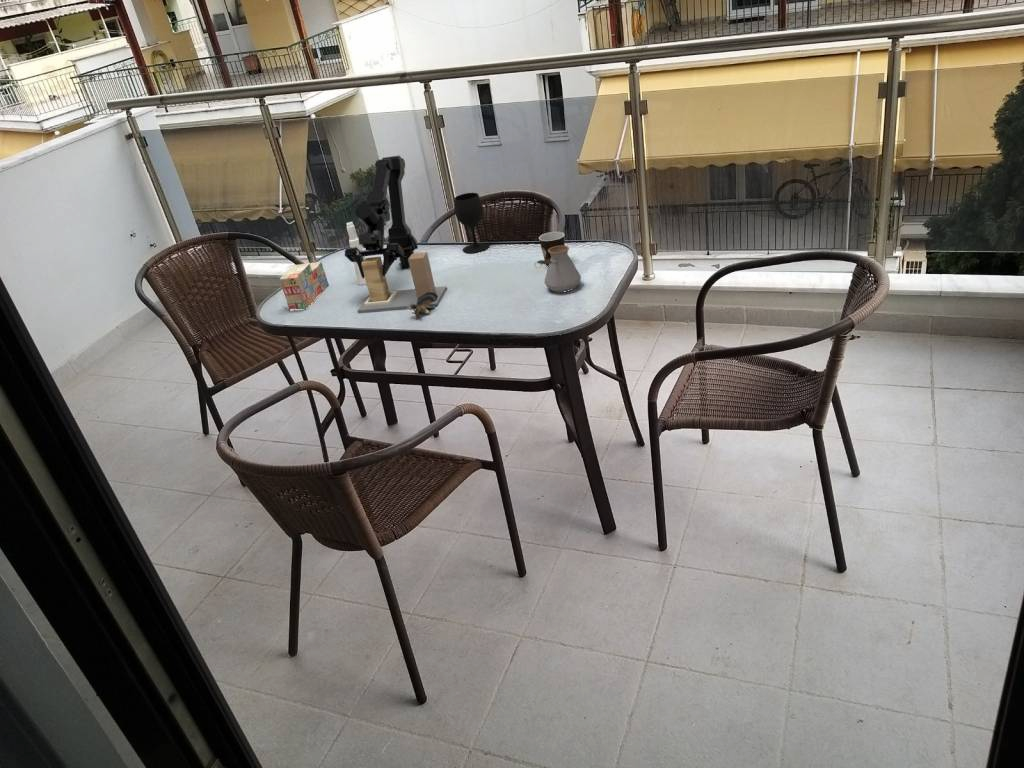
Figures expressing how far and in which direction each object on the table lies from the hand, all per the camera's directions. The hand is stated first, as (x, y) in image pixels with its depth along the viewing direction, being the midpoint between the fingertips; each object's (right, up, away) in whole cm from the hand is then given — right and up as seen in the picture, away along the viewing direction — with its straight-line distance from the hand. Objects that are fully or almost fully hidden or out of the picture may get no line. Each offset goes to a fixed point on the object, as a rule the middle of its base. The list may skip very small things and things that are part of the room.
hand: (373, 276), depth 248 cm
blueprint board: (+9, -7, +4) cm, 12 cm away
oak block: (+2, -7, +5) cm, 9 cm away
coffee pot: (+59, -7, -11) cm, 61 cm away
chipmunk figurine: (+18, -13, -8) cm, 23 cm away
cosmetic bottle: (-8, +2, +26) cm, 27 cm away
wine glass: (+32, +16, +38) cm, 52 cm away
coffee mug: (+60, +6, +12) cm, 61 cm away
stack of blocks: (-26, -5, +21) cm, 34 cm away
